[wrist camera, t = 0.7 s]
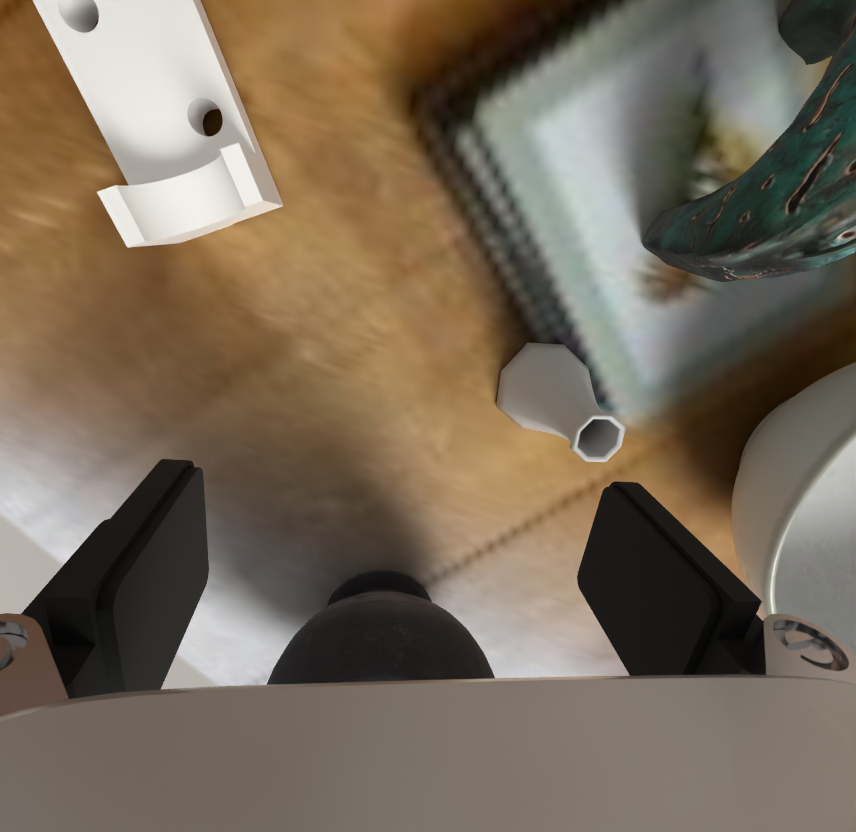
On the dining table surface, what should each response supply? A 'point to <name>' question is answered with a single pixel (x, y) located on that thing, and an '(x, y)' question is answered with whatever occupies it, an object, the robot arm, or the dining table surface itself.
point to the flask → (558, 400)
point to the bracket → (163, 116)
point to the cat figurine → (783, 175)
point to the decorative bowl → (802, 507)
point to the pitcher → (380, 638)
